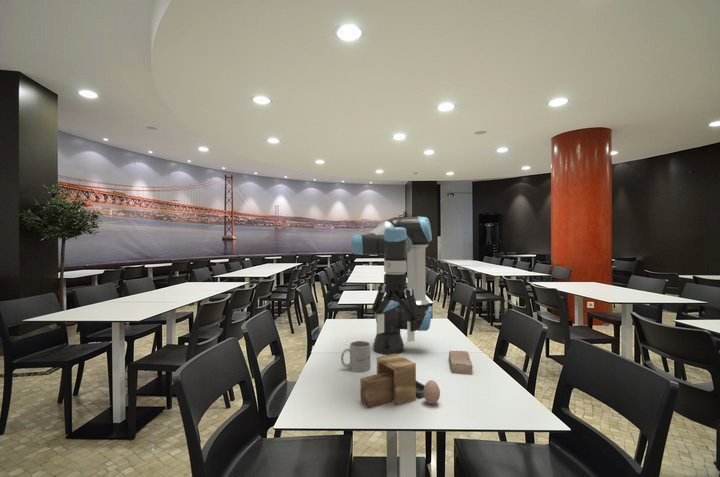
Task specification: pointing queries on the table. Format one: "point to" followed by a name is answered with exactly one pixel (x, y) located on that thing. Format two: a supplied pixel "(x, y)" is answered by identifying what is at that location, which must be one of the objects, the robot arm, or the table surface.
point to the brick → (460, 362)
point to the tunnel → (400, 376)
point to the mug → (358, 356)
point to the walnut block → (377, 389)
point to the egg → (431, 392)
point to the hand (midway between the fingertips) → (395, 336)
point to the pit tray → (419, 390)
